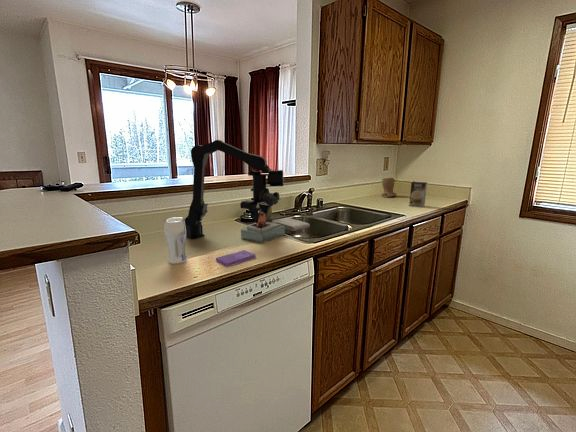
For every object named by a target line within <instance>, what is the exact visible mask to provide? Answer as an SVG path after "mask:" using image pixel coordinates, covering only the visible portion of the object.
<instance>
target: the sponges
mask: <svg viewBox="0 0 576 432" xmlns="http://www.w3.org/2000/svg"><path fill="white" fill-rule="evenodd" d="M256 255H257V254H256V253H253V252H250V251H247V250H245V249H243V250H239V251H236V252H232V253H229V254H228V253H227V254H225V255H222V256H221V255H220V256H216V257H215V261H216V263H219V264H220V263H221V265H223V266H225V267H230V266H234V265H237V264H240V263H243V262H246V261H249V259H250V260H252V259H255V258H256ZM236 263H237V264H236ZM233 264H234V265H233Z"/></svg>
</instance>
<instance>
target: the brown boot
mask: <svg viewBox="0 0 576 432" xmlns="http://www.w3.org/2000/svg"><path fill="white" fill-rule="evenodd" d="M381 185H382V189H383V192H382V193H381V194H380V196H381V197H384V198H390V197H394V196H396V195H398V193H396V192H394V187H395V178H394V177H385V178H382V179H381Z"/></svg>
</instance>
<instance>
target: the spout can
mask: <svg viewBox="0 0 576 432" xmlns="http://www.w3.org/2000/svg"><path fill="white" fill-rule="evenodd" d="M266 222H267V221H265V213H264V212H263V211H261V209H260V210H259V211H258V223H255V222H254V223H255V227H258V228H263V227H266Z"/></svg>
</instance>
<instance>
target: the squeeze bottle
mask: <svg viewBox="0 0 576 432" xmlns="http://www.w3.org/2000/svg"><path fill="white" fill-rule="evenodd" d="M258 208H260V206H259V205H258ZM272 214H273V209H272V206H271V207H270V208H269V210H268V213H267V216H266V219H265V221H266V222H270V221H271V218H272Z"/></svg>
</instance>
